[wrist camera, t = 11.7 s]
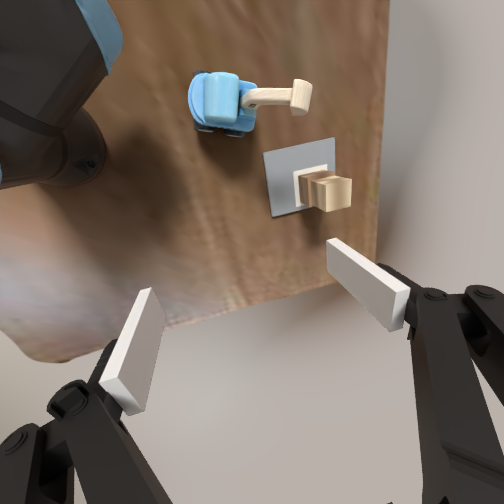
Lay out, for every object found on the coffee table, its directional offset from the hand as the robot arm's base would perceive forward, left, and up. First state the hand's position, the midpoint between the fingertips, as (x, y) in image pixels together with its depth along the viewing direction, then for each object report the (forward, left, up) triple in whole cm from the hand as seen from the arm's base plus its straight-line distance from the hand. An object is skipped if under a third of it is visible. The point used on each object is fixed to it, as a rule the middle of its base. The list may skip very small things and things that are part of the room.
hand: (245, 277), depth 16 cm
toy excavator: (+7, +14, -35) cm, 38 cm away
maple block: (+21, -3, -29) cm, 36 cm away
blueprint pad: (+19, -1, -35) cm, 40 cm away
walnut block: (+21, -3, -34) cm, 40 cm away
